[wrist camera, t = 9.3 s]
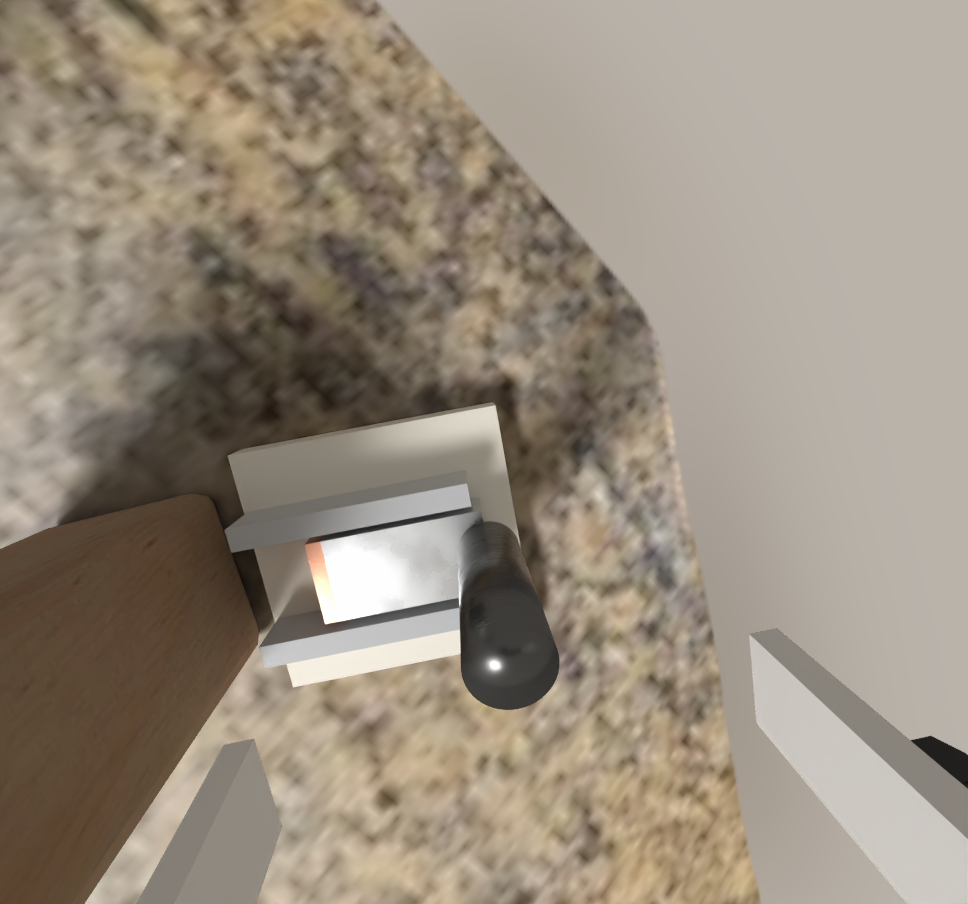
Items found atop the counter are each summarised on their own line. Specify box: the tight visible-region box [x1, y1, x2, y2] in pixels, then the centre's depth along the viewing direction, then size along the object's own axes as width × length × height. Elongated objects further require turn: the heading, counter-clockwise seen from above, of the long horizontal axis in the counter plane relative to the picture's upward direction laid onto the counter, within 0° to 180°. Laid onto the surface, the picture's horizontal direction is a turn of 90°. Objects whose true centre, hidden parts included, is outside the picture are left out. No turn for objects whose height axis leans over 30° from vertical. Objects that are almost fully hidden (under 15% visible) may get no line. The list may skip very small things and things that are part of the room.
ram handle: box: [304, 498, 559, 710], centre depth 23 cm, size 4×11×12 cm, turn 100°
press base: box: [225, 402, 521, 687], centre depth 29 cm, size 14×14×5 cm
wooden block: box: [0, 493, 259, 904], centre depth 21 cm, size 10×10×20 cm
